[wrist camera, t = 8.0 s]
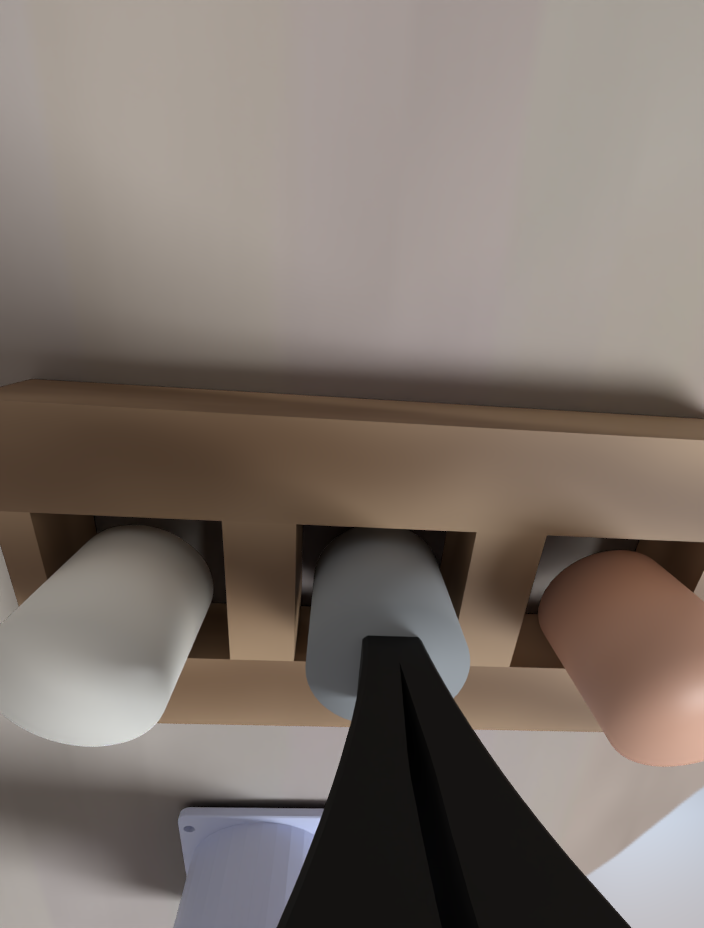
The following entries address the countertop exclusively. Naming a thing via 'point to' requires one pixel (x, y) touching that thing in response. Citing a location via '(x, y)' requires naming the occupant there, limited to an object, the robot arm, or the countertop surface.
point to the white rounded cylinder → (104, 638)
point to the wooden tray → (348, 519)
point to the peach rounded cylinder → (632, 653)
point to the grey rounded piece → (378, 611)
